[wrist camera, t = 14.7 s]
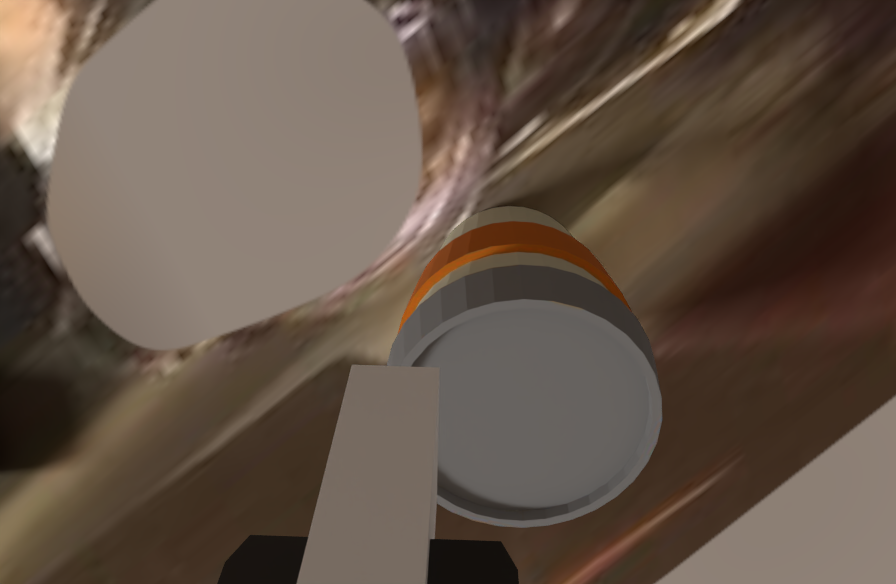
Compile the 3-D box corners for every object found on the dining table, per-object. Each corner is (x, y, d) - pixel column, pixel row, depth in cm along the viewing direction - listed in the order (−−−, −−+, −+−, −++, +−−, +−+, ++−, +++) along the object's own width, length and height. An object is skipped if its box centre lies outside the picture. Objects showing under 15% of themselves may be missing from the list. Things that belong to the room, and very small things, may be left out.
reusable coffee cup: (652, 298, 49) (721, 451, 36) (482, 397, 52) (486, 571, 39) (539, 132, 45) (569, 235, 31) (362, 252, 48) (320, 391, 35)
